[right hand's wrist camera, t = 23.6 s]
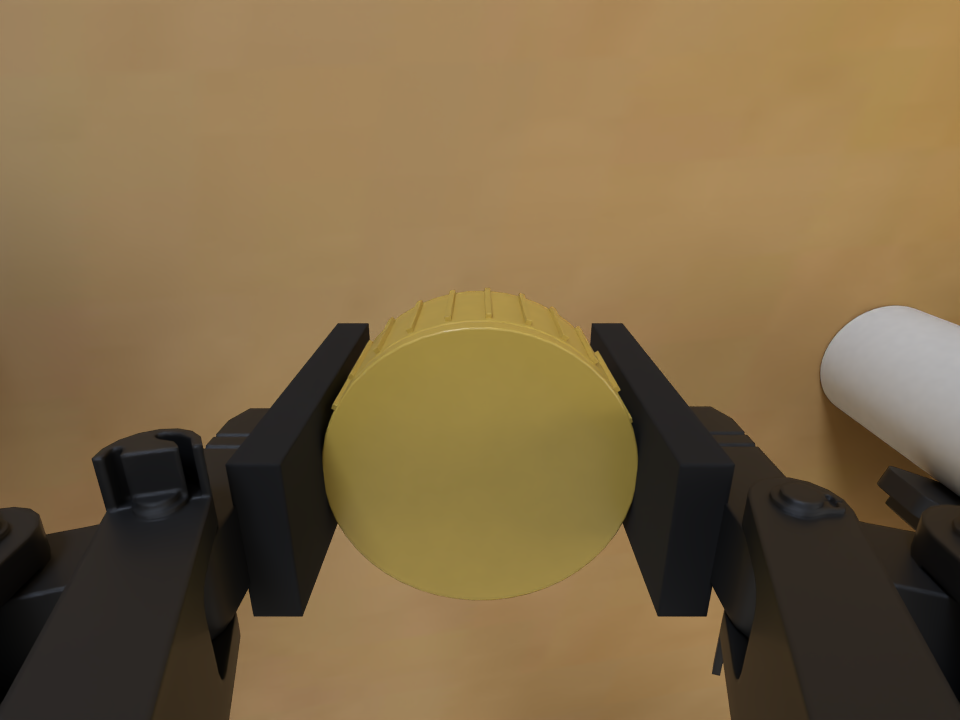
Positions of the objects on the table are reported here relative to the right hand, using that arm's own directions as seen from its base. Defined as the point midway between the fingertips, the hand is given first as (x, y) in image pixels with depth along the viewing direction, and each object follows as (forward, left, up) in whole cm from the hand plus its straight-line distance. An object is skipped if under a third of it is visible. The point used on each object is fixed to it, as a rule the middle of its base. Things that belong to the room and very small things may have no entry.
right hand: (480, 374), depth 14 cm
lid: (0, 0, +4) cm, 4 cm away
